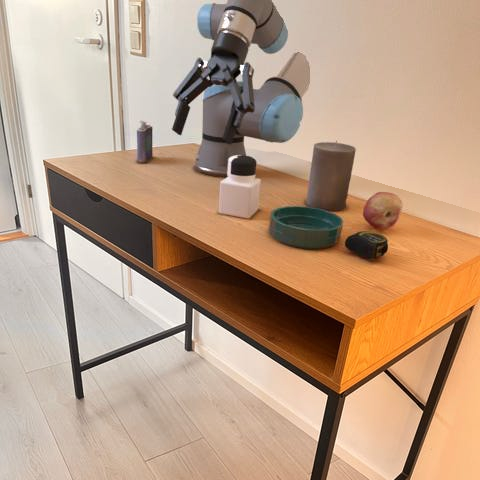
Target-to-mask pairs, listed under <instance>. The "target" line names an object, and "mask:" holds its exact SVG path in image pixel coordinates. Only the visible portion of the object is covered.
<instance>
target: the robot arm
mask: <svg viewBox="0 0 480 480" xmlns="http://www.w3.org/2000/svg"><path fill="white" fill-rule="evenodd" d="M196 20H197V22H196V23H197V29H198V32H199V34H200V35H201V37H203V38H204V39H207V40H208V39H209V40H212V41H213V42H212V46H211V49H210V58H209V59H208V61H206V60H203V59H202V58H201V57H197V58H196V60H195V63H194V66H193V67H192V68H191V70H190V71H189V72H188V74H187V75H186V76H185V77H184V79H183V80H182V81H181V82H180V84H179V85H178V86H177V88H176V89H175V90H174V91H173V94H172V96H173V98H174V99H175V100H177V101H178V103H177V106H176V109H175V112H174V117H175V118H174V122H173V125H172V128H171V131H173V132H174V133H175V134H176V135H178V136H182V134H183V131H184V128H185V125H186V122H187V119H188V116H189V113H190V110H191V106H190V104H191V103H192V102H193V101H194V100H195V99H197V98H198V97H199V96H200V95H201V94H202V93H203V98H202V130H201V131H202V133H201V135H202V136H201V138H202V139H201V142H200V145H199V149H198V151H197V153H196V154H195V160H194V170H195V171H196V172H197V173H201V174H204V175H208V176H212V177H222V178H227V177H228V175H227V172H228V159H229V158H230V157H232V156H235V155H245V156H247V153H246V147H245V137H246V138H252V139H255V140H261V141H264V142H267V143H268V142H269V143H276V144H277V143H279V144H285V143H287V142H288V141H290V140H291V139H293V137H295V135H296V134H297V132H298V131H299V129H300V127H301V122H302V121H303V117H304V107H303V99H302V98H303V97H304V96H305V94H306V92H307V91H308V90H309V88H310V87H309V84H310V66H309V62H308V61H307V59H306V56H305V55H304V54H302V53H300V52H297V53H294V52H293V53H292V55H291V57H290V58H289V59H288V60H287V62H286V63H285V65H284V66H283V67H282V69H281V70H280V71H279V73H278V74H277V75H276V76H271V77H269V78H267V79H266V80H265V81H264V82H263V84H262V85H261V87H260V88H258V89H257V88H254V85H253V83H254V82H253V77H254V73H255V69H254V68H253V66H252V65H251V64H250V62H248V61H246V59H247V56H248V54H249V49H250V47H251V45H257V47H258V48H259V49H260V50H261V51H262V52H263V53H265V54H267V55H273V54H276V53H278V52H280V51H281V50H282V49H283V48H284V47H285V46H286V44H287V42H288V38H289V34H288V30H287V28H286V25H285V23H284V20H283V18H282V17H281V16H280V14H279V12H278V11H277V9H276V6H275V5H274V3H273V2H272V0H227V1H226V3H216V2H213V3H205V4H203V5H202V6H201V7H200V8H199V10H198V12H197V16H196ZM240 75H241V78H242V79H241V80H240V81H237V78H238V77H239V76H240ZM308 87H309V88H308Z"/></svg>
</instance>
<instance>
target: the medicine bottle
mask: <svg viewBox="0 0 480 480" xmlns="http://www.w3.org/2000/svg"><path fill="white" fill-rule="evenodd" d="M256 173H257V160H256V159H255V158H254V157H252V156H250V155H246V156H245V155H235V156H232V157H230V158H229V159H228V172H227V175H228V177H224V179H222V180H221V181H220V182H219V199H218V214H220V215H226V216H231V217H235V218H237V217H238V218H241V219H250V218H251V217H252V216H253V215H254V214H256V213H257V211H259V207H260V205H259V203H260V196H261V195H260V194H261V183H262V179H261V178H256Z"/></svg>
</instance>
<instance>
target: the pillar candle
mask: <svg viewBox="0 0 480 480" xmlns="http://www.w3.org/2000/svg"><path fill="white" fill-rule="evenodd" d="M356 149H357V148H356V146H353V145H351V144H345V143H341V142H338V140H335V142H334V141H333V142H332V141H329V142H328V141H326V142H325V141H323V142H316V143H314V144H313V150H312V158H311V165H310V172H309V179H308V186H307V192H306V201H305V202H306V205H307V206H308V207H314V208H319V209H323V210H327V211H329V212H333V211H334V212H336V211H342V210H345V208H347V206H346V205H347V199H348V196H349V195H348V194H349V189H350V182H351V178H352V171H353V167H354V161H355V157H356Z"/></svg>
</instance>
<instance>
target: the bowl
mask: <svg viewBox="0 0 480 480" xmlns="http://www.w3.org/2000/svg"><path fill="white" fill-rule="evenodd" d="M343 225H344V220H343V219H342V217H341V216H339V215H337V214H336V213H334V212H333V211H330V210H323V209H319V208H314V207H311V206H308V205H307V206H306V205H305V206H304V205H287V206H281V207H277V208H274V209H272V211H271V212H270V214H269V222H268V233H269V235H270V236H271V237H273V238H274V240H276V241H278V242H279V243H281V244H283V245H286V246H289V247H294V248H297V249H306V250H319V249H327V248H329V247H330V248H331V247H332V246H333V245H334V246H335V245H336V244H337V243H339V242H340V240H341V237H342V232H343V227H344V226H343Z"/></svg>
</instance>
